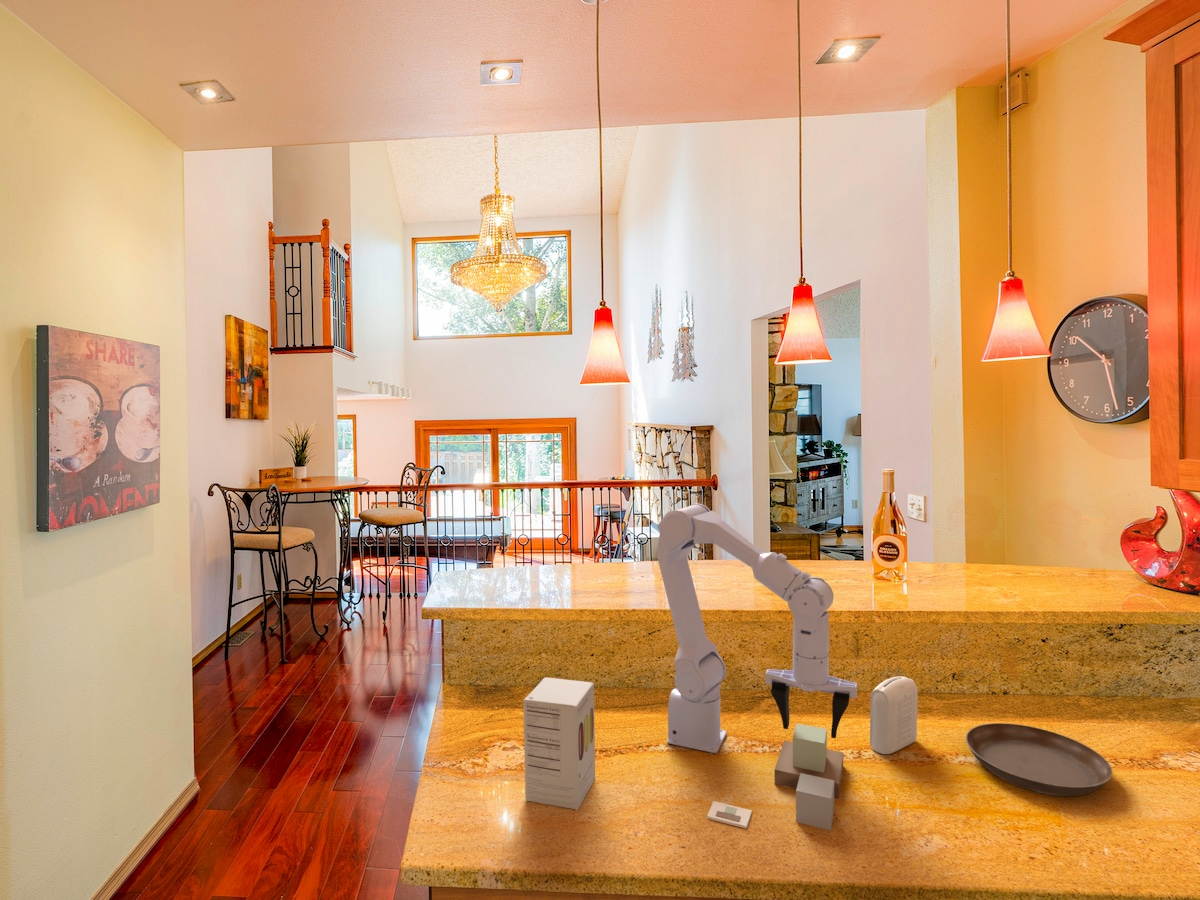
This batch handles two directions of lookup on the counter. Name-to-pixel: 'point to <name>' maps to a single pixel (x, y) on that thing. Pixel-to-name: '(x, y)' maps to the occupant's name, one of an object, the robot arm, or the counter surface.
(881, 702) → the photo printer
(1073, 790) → the plant saucer
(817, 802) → the grey cube
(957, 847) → the counter surface
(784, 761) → the walnut slab
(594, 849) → the counter surface
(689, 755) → the counter surface
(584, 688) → the supplement box
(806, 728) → the sage cube
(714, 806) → the card
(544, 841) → the counter surface
